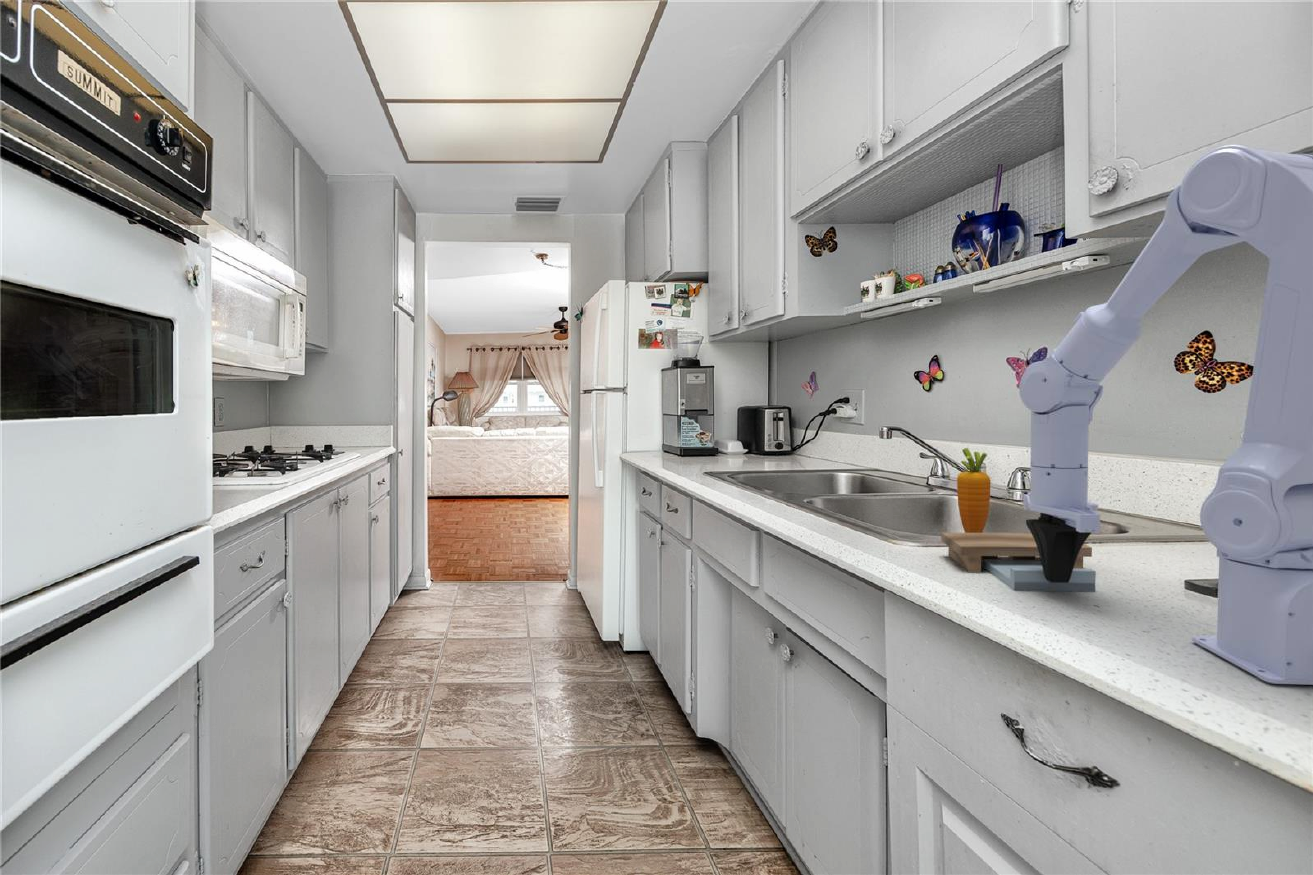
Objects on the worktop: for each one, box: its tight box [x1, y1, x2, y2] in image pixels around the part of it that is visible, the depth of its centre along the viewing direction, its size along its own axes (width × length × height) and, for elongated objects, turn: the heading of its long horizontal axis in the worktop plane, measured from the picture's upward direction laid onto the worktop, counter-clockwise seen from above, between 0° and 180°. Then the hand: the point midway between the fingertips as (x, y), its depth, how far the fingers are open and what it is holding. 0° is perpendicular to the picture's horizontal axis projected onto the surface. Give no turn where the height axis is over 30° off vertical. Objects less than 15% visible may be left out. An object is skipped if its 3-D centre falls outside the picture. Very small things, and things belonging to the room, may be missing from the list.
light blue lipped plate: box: [981, 558, 1097, 593], centre depth 84 cm, size 11×9×3 cm
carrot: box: [956, 447, 991, 533], centre depth 103 cm, size 5×5×15 cm
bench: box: [940, 532, 1093, 573], centre depth 90 cm, size 9×16×3 cm, turn 82°
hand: (1057, 581), depth 77 cm, fingers closed
